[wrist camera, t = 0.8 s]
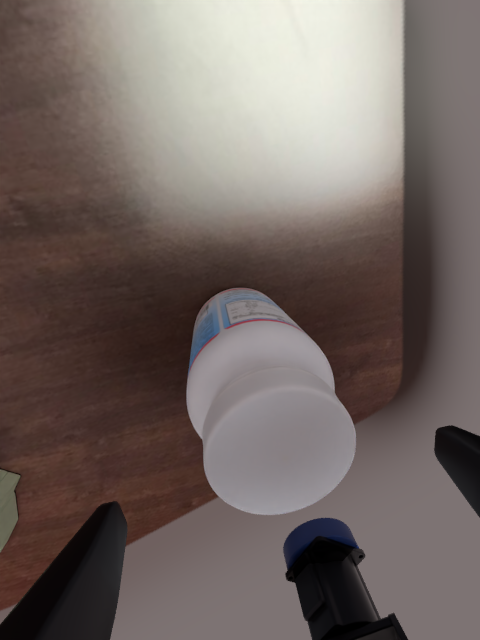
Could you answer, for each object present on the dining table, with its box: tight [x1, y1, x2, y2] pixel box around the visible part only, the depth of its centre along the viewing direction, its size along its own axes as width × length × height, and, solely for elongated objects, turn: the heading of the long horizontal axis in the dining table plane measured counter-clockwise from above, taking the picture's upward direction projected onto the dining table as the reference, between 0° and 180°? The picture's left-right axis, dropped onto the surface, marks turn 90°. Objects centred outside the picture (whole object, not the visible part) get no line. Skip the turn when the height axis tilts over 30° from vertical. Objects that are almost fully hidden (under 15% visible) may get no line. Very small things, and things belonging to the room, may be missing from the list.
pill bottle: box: [186, 288, 356, 515], centre depth 13 cm, size 6×6×11 cm
